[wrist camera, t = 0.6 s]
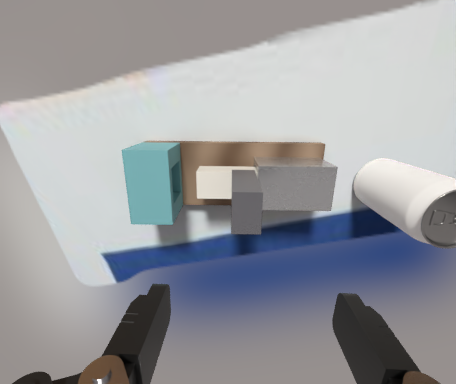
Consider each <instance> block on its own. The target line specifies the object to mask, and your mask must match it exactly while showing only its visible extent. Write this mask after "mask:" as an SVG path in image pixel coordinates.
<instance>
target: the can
mask: <svg viewBox="0 0 456 384" xmlns="http://www.w3.org/2000/svg"><path fill="white" fill-rule="evenodd" d="M354 192H355V195H356V196H357V198H358V199H359V200H360V201H361V202H363V203H364V204H365V205H367V206H368V207H369V208H371V209H372V210H374V211H375V212H377V213H378V214H379V215H381V216H382V217H384V218H385V219H387V220H388V221H389V222H391V223H392V224H394V225H395V226H397V227H398V228H399V229H401V230H402V231H404V232H405V233H407V234H408V235H410V236H411V237H413V238H414V239H416V240H418V241H421V242H424V243H428V244H431V245H433V246H435V247H439V248H455V247H456V179H455V178H451V177H448V176H445V175H442V174H439V173H435V172H432V171H429V170H426V169H422V168H419V167H416V166H412V165H409V164H406V163H402V162H399V161H395V160H392V159H387V158H379V159H375V160H372V161H370V162H368V163H367V164H365V165H364V166H363V167H362V168H361V169H360V170H359V172H358V173H357V175H356V177H355V180H354Z"/></svg>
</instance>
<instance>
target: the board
mask: <svg viewBox="0 0 456 384" xmlns="http://www.w3.org/2000/svg"><path fill="white" fill-rule="evenodd" d="M145 142H154V143H180V154H181V173H182V192H183V205H231V199H197V183H196V171H197V170H198V168H199V166H245V167H253V166H254V157H319V158H321V159H323V158H324V150H325V144H323V143H299V142H202V141H145Z"/></svg>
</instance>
